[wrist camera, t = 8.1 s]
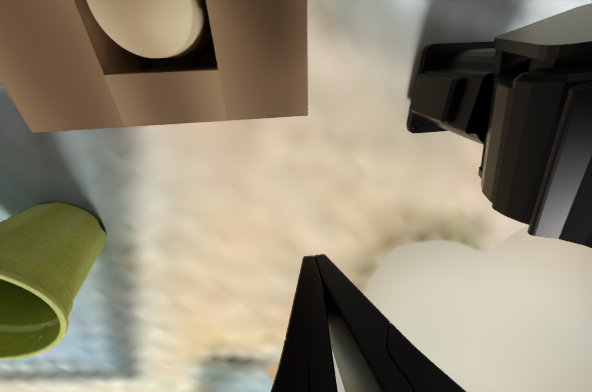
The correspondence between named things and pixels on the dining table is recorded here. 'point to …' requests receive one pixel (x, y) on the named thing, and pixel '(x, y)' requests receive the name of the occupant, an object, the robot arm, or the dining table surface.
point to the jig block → (151, 68)
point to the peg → (155, 25)
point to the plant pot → (43, 274)
